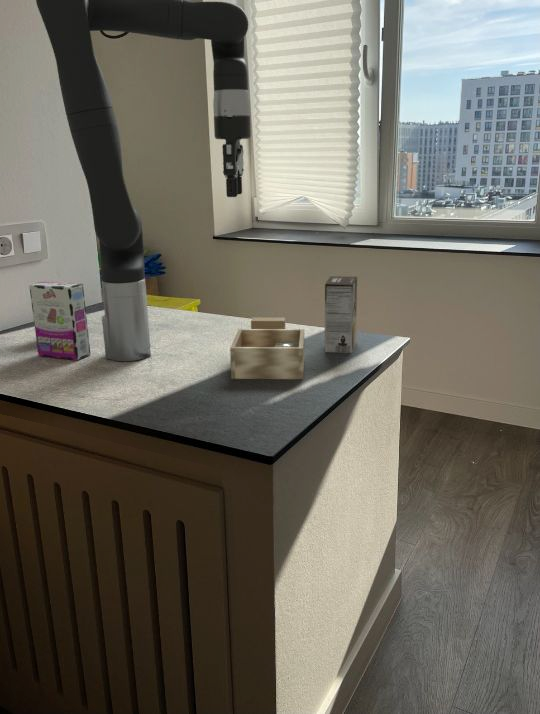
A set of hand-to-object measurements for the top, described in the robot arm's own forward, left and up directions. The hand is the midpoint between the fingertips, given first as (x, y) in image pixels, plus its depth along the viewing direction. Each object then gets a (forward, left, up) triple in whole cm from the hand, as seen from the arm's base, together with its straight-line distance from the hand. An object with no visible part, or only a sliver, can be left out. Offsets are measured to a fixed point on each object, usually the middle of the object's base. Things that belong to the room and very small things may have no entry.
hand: (234, 195), depth 137 cm
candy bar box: (-39, -6, -34) cm, 52 cm away
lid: (+6, +8, -35) cm, 36 cm away
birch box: (+8, -16, -34) cm, 39 cm away
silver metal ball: (+11, -13, -33) cm, 37 cm away
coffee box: (+23, -1, -34) cm, 41 cm away
